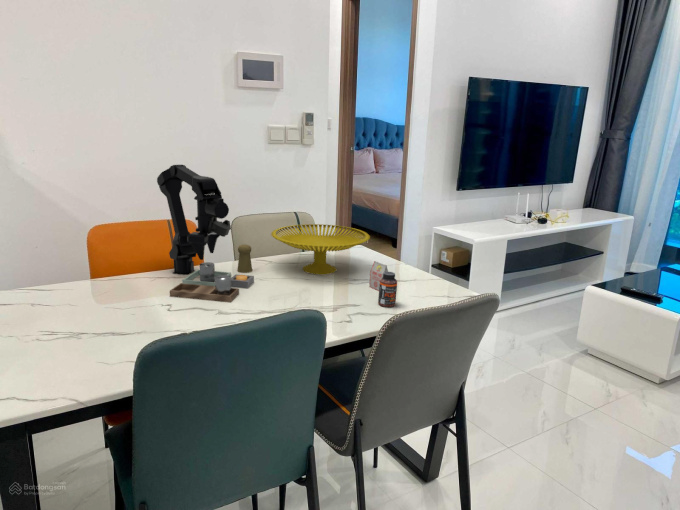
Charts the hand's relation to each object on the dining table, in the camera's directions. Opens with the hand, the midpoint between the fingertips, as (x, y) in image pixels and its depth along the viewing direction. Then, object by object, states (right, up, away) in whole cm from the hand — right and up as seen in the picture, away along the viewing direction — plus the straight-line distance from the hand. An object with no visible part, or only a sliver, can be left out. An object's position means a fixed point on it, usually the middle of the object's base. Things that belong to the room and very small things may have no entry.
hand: (206, 256), depth 185 cm
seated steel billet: (+9, -14, -13) cm, 21 cm away
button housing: (+12, -11, +1) cm, 17 cm away
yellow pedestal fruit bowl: (+40, -6, +26) cm, 48 cm away
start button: (+12, -10, +1) cm, 16 cm away
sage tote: (0, -10, +3) cm, 11 cm away
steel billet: (0, -10, +3) cm, 10 cm away
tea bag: (+63, -12, +6) cm, 64 cm away
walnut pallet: (+2, -14, -11) cm, 18 cm away
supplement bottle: (+64, -17, -10) cm, 67 cm away
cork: (+10, -6, +19) cm, 22 cm away
